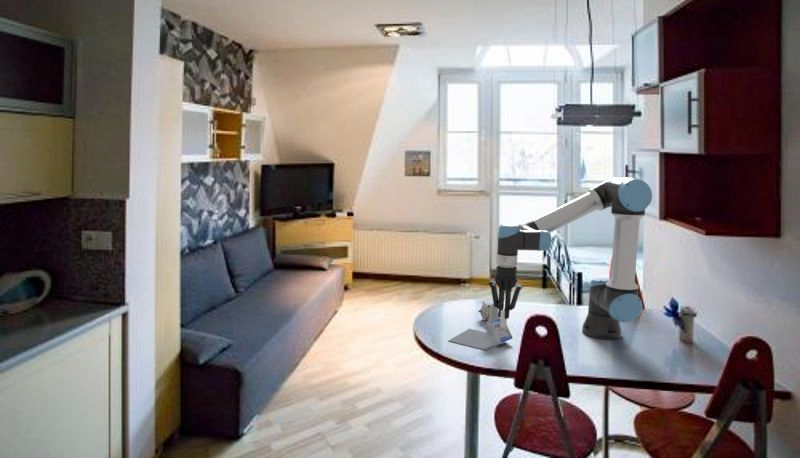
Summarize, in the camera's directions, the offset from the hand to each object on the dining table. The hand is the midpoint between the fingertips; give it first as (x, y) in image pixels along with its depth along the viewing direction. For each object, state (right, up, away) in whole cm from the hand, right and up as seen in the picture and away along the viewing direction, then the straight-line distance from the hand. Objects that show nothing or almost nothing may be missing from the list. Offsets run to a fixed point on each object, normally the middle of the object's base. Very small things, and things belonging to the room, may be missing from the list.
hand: (503, 326), depth 206 cm
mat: (-9, -6, +7) cm, 13 cm away
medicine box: (0, -6, +1) cm, 7 cm away
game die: (-1, -3, +31) cm, 32 cm away
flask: (0, -5, +22) cm, 23 cm away
